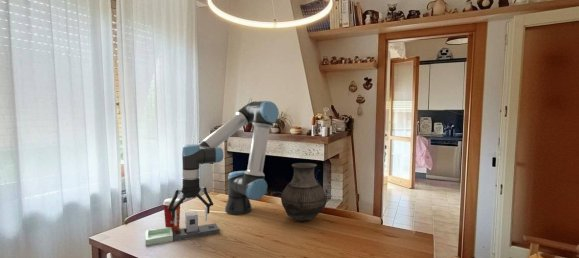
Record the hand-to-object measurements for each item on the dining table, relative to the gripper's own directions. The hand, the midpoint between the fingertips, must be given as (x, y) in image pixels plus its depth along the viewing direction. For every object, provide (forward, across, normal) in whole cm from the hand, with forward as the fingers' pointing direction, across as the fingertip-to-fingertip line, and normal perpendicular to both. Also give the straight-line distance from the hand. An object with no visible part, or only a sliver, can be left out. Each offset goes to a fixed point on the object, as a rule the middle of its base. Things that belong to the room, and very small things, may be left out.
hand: (191, 222), depth 136 cm
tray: (+6, +14, -2) cm, 15 cm away
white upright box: (+6, 0, 0) cm, 6 cm away
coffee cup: (+6, +7, -10) cm, 14 cm away
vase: (+5, -57, +5) cm, 58 cm away
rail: (+6, -2, 0) cm, 6 cm away
